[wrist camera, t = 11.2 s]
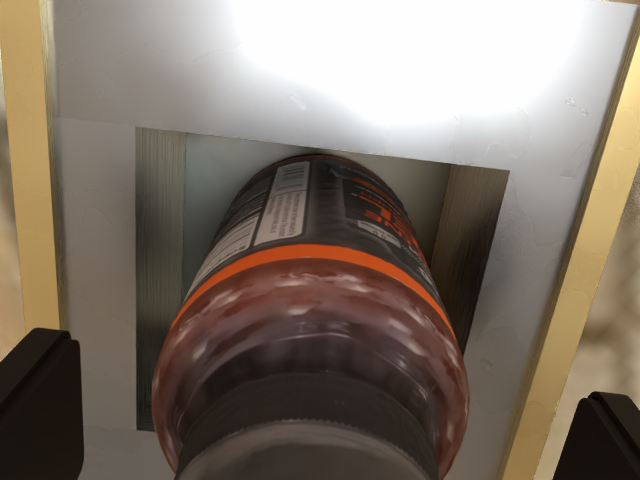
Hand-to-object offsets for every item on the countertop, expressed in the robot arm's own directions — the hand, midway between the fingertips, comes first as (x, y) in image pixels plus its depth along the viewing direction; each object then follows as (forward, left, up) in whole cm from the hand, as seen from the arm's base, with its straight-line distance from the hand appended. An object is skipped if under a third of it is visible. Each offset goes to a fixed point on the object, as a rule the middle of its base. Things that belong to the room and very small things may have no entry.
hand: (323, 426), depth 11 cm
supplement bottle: (0, 0, -9) cm, 9 cm away
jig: (0, +1, -8) cm, 8 cm away
